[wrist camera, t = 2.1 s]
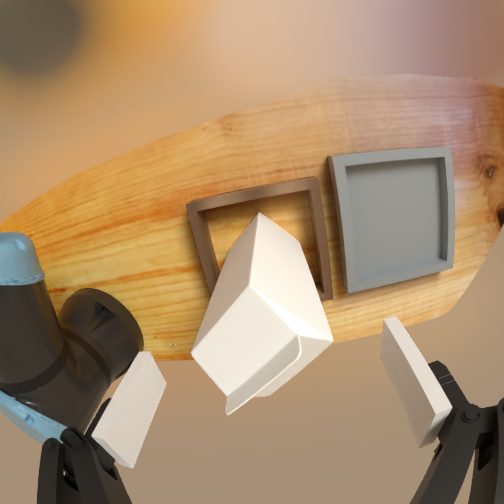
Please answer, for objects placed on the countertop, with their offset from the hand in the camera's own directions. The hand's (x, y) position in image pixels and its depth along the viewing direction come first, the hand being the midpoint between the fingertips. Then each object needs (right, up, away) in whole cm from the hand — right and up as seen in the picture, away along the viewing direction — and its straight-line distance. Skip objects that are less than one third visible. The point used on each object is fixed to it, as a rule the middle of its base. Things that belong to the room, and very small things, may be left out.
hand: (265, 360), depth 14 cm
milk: (+1, +7, +19) cm, 20 cm away
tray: (+17, +10, +16) cm, 26 cm away
